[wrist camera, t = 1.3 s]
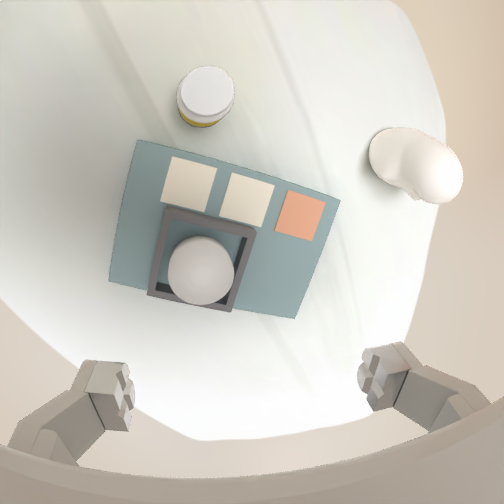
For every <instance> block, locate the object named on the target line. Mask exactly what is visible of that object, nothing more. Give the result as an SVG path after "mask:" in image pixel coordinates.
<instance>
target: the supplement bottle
mask: <svg viewBox="0 0 504 504" xmlns="http://www.w3.org/2000/svg"><path fill="white" fill-rule="evenodd" d="M234 97H235V93H234V83H233V81H232V79H231V77H230V76H229V74H228V73H227V72H225V71H224V70H222V69H221V68H218V67H215V66H202V67H198V68H196V69H194V70H192V71H191V72H190V73H189V74H188V75H187V76H186V77H185V78H184V79H183V80H182V81H181V83H180V85H179V87H178V90H177V104H178V109H179V113H180V115H181V117H182V118H183V120H184V121H185V122H187V123H188V124H190V125H192V126H194V127H200V128H203V127H209V126H212V125H214V124H216V123H217V122H218V121H219V120H221V119H222V118H223V117H224V116H225V115H226V114H227V113H228V112H229V111H230V109H231V107H232V105H233V103H234Z"/></svg>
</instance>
